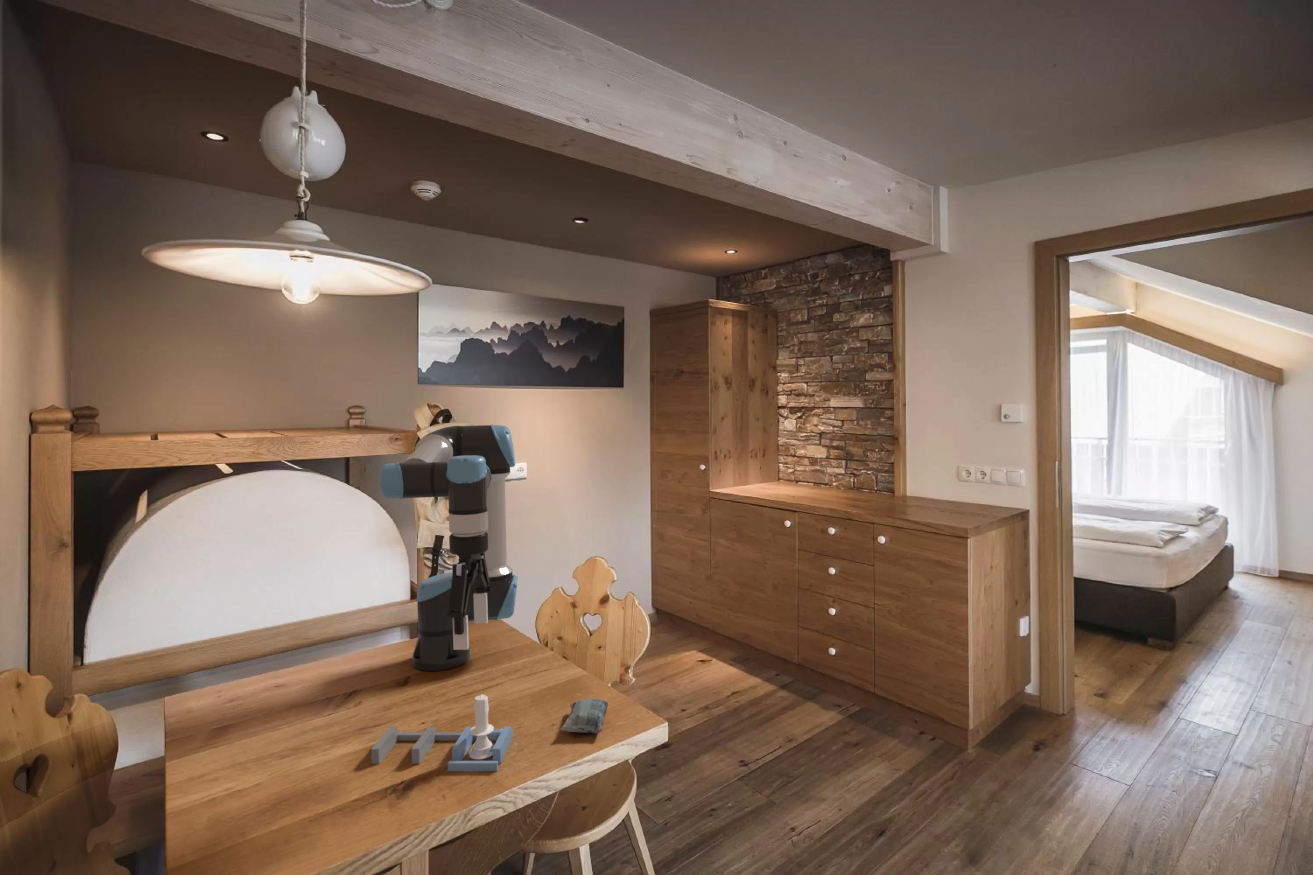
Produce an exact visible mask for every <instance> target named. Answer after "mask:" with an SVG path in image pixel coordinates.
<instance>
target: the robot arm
mask: <svg viewBox="0 0 1313 875" xmlns="http://www.w3.org/2000/svg"><path fill="white" fill-rule="evenodd" d="M513 444H514V443H513V439H512V434H511V430H510V428H509V427H508V426H506V425H500V424H499V425H498V424H497V425H496V424H489V425H488V424H486V425H485V424H483V425H452V426H445V427H443V428H439V429H436V430H434V431H432V432H429V433H428V434H425V435H424V436H423V437H421V438H420V439H419V440H418V442H417V443H416V445H415V446H414V447H415V448H414V451H413V452H412V453H410V455H409V456H407V458H406V459H404V461H403V462H394V463H393V462H392V463H391V462H390V463H384V464H383V465H382V466H381V468H380V472H379V487H380V488H379V490H380V493H381V495H382V497H384V498H386V499H398V500H403V499H417V498H418V499H419V498H420V499H421V498H445V497H446V498H447V500H448V501H447V502H448V516H446V518H445V519H446V521H447V522H448V530H449V531H448V532H450V533H451V534H450V535H449V537H448V538H449V539H448V540H449V553H450V554H452V555H454V556H457V557H458V562H457V564H456V563H453V565H452V572H445V573H440V574H437V575H434V576H430V577H428V578H426V579H424V580H422V581H421V582H420V583H419V584H418V586H417V595H416V596H417V597H416V602H417V627H418V628H417V629H418V636H417V639H416V643H415V646H414V649H413V652H412V656H411V657H412V658H411V659H412V666H413V667H414V668H415V669H417V670H419V671H426V672H436V671H437V672H439V671H446V670H451V669H454V668H457V667H459V666H462V665H464V664H466V663H467V662H468V661H469V660H470V658H471V647H470V645H469V644H470V643H469V622H473V624H474V625H485V624H487V625H488V623H489V621H499V620H504V619H510V618H511V617H512V616H513V615H514V612H515V606H516V597H517V589H518V581H519V580H518V579H519V577H518V576H517V575H515V574H513V568H512V567H510V565H508V562H507V561H508V559H507V557H508V556H507V553H508V552H507V529H506V528H507V521H506V518H507V516H506V482H505V481H506V478H507V477H508V476H510V474H511V468H514V467H515V466H516V459H515V457H516V456H515V451H514V450H515V449H514V445H513Z"/></svg>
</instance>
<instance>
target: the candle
mask: <svg viewBox="0 0 1313 875" xmlns="http://www.w3.org/2000/svg"><path fill="white" fill-rule="evenodd" d="M473 711H474V726H471V727H472V728H471V729H470V734H472V735H474V736H477V739H476V741H475V742H474V743H472V744H473V745H471V746H472V747H471V749H470V750H468V756H469V757H470V758H471V759H472V760H476V761H481V760H485V759H489V758H490V757H493V747H494V745H493V741H489V739H488V737H487V734H489V733H491V732H492V731H493V730H494V729H495V727H494V725H492V724H491V723H489V711H490V707H489V698H488V696H487V695H485V694H482V693H480V694H478V695H477V696H475V697H474V699H473Z"/></svg>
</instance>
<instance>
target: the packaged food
mask: <svg viewBox="0 0 1313 875" xmlns="http://www.w3.org/2000/svg"><path fill="white" fill-rule="evenodd" d="M608 706H609V702H608V700H603V699H598V698H584V699H579V700H576V701H573V703H571V704H570V705H569V707H570V709H571V710H570V713H569V715H568V717H567V719H566V720H565V721H564V724H563V726H561V727H560V730H561V731H562V732H564V731H565V732H569V733H581V734H582V733H583V734H600V733H601V732H602V728H603V725H604V724H603V723H604V719H605V715H606V714H607V710H608Z"/></svg>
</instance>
